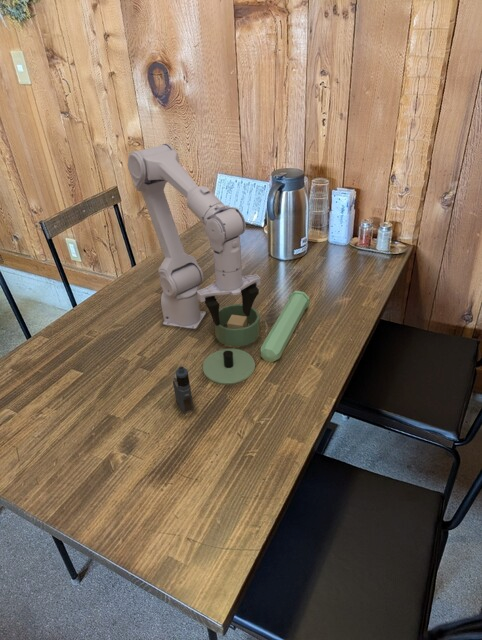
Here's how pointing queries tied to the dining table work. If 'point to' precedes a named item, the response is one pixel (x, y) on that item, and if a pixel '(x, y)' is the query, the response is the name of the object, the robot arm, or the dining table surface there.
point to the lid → (228, 366)
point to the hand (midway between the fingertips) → (231, 318)
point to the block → (237, 322)
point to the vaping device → (183, 390)
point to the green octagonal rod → (284, 326)
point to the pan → (242, 334)
